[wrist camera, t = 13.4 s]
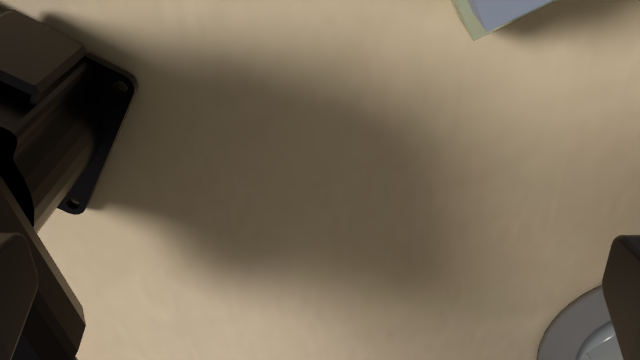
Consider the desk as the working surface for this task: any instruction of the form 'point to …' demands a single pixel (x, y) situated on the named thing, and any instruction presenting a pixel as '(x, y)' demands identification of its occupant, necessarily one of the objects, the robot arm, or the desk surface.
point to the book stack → (493, 13)
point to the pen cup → (601, 345)
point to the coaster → (574, 326)
